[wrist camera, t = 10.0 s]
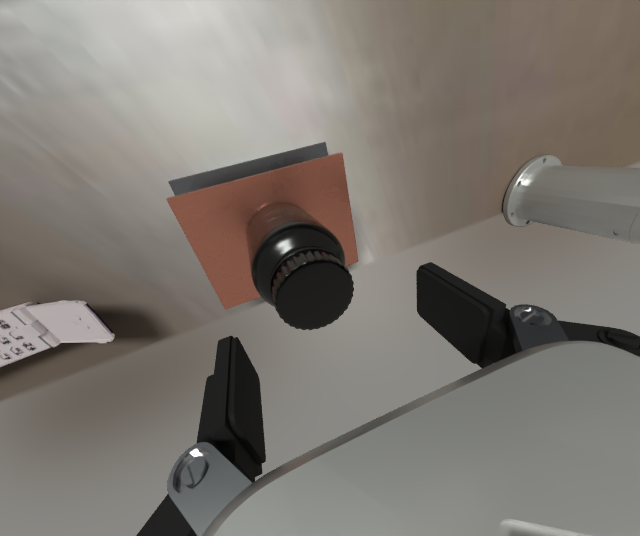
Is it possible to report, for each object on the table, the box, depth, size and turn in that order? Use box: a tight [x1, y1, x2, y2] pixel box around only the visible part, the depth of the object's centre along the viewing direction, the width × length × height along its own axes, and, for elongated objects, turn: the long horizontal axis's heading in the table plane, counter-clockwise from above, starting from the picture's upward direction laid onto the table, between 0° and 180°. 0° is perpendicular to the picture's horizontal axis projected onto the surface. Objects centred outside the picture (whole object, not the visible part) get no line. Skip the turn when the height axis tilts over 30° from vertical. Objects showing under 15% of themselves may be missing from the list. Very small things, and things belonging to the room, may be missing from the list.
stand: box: [167, 142, 358, 309], centre depth 27 cm, size 18×14×8 cm
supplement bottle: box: [247, 202, 354, 330], centre depth 18 cm, size 7×7×12 cm
